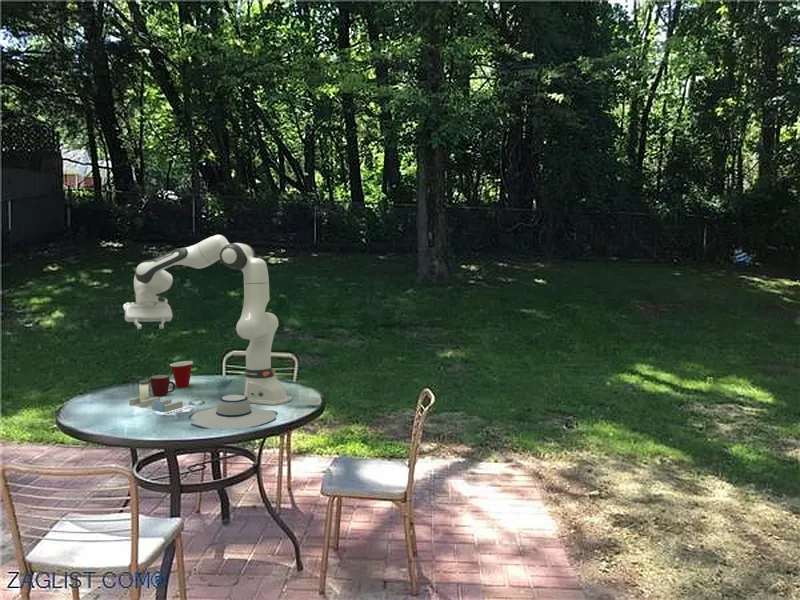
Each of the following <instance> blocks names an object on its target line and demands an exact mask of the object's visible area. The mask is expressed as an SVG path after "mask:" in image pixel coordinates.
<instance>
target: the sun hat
mask: <svg viewBox="0 0 800 600" xmlns="http://www.w3.org/2000/svg"><path fill="white" fill-rule="evenodd" d="M277 416H278V412H277V411H275V410H270V409H259V408H255V407H253V406H251V403H249V400H248V398H247V397H246V396H244V394H243V395H242V394H228V395H223V396H222V397H220V398H219V400H218V402H217V406H213V407H209V408H205V409H201V410H198V411H195V412H193V413H191V414H190V415H189V417H188V419H191V420H193V422H192V423H190V425H191V426H194V427H197V428H200V429H210V430H211V429H228V428H229V429H230V428H231V429H243V428H244V429H245V428H246V429H249V428H255V427H261V426H265V425H268V424H270V423H273V422H275V421H276V420H277Z"/></svg>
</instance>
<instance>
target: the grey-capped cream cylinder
mask: <svg viewBox="0 0 800 600" xmlns="http://www.w3.org/2000/svg"><path fill="white" fill-rule="evenodd" d="M138 384H139V397H140V401H143V400H147V399H150V396H149V395H150V394H149V384H150V383H149V380H147V379H145V380H143V379H141V380H139V381H138Z"/></svg>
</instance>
